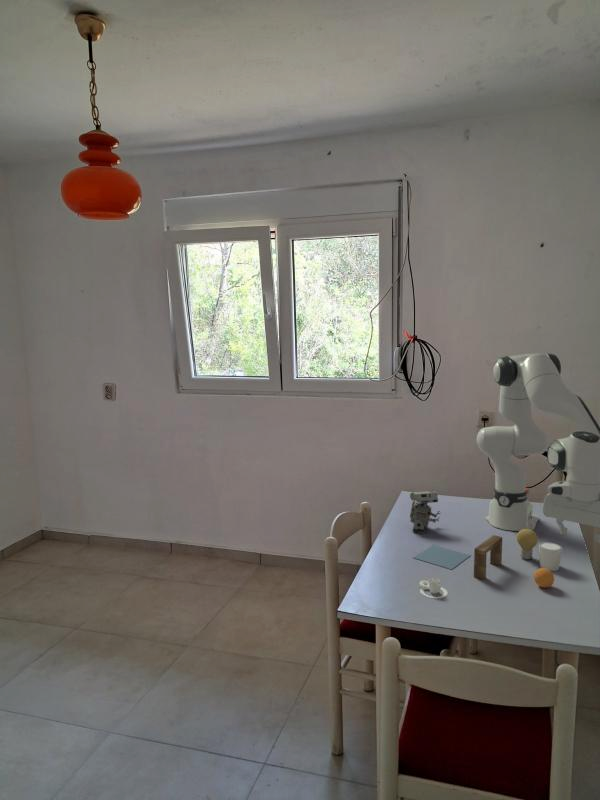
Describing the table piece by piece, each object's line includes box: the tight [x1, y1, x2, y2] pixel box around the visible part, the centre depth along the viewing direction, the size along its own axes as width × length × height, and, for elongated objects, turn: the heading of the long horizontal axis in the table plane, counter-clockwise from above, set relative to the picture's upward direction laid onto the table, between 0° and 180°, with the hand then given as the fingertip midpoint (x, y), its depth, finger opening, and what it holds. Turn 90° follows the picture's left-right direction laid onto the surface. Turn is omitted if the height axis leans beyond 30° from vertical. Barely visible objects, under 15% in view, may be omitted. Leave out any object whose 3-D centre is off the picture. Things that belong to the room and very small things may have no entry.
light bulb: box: [516, 529, 538, 561], centre depth 180 cm, size 6×6×10 cm
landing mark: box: [413, 544, 471, 571], centre depth 182 cm, size 14×14×1 cm
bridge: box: [473, 534, 503, 581], centre depth 171 cm, size 3×14×9 cm, turn 138°
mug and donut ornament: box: [419, 577, 449, 600], centre depth 159 cm, size 9×8×4 cm
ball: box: [533, 567, 555, 589], centre depth 160 cm, size 6×6×6 cm
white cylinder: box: [538, 541, 563, 572], centre depth 173 cm, size 7×7×7 cm
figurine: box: [409, 490, 441, 534], centre depth 207 cm, size 9×12×15 cm
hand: (580, 537), depth 152 cm, fingers open, 8 cm apart
